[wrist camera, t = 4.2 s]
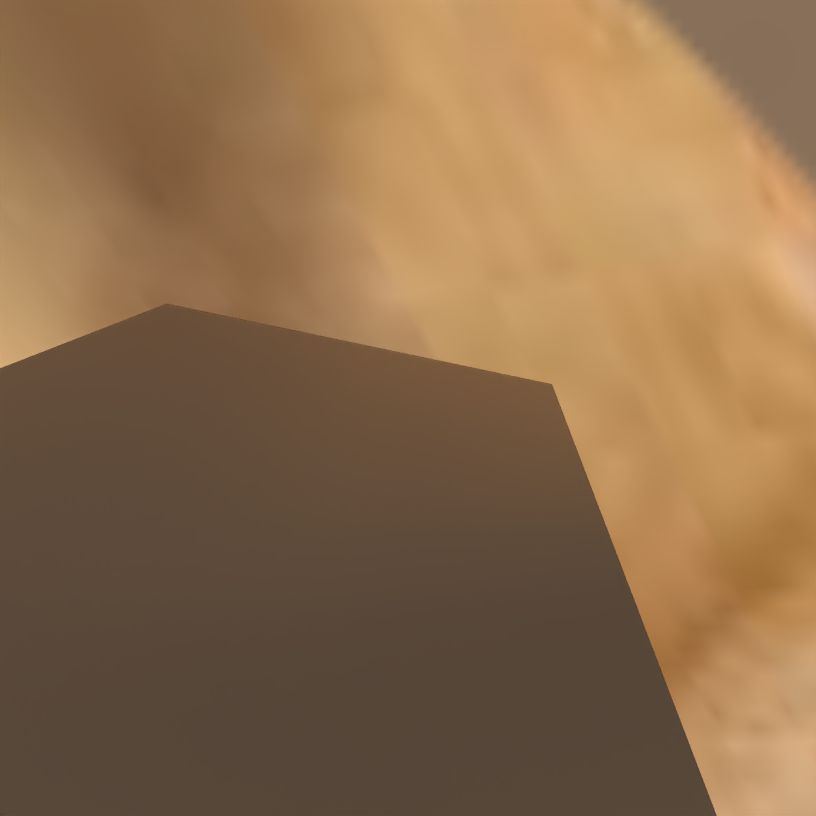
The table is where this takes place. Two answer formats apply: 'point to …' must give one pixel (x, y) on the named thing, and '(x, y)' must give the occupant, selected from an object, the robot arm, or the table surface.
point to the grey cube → (311, 589)
